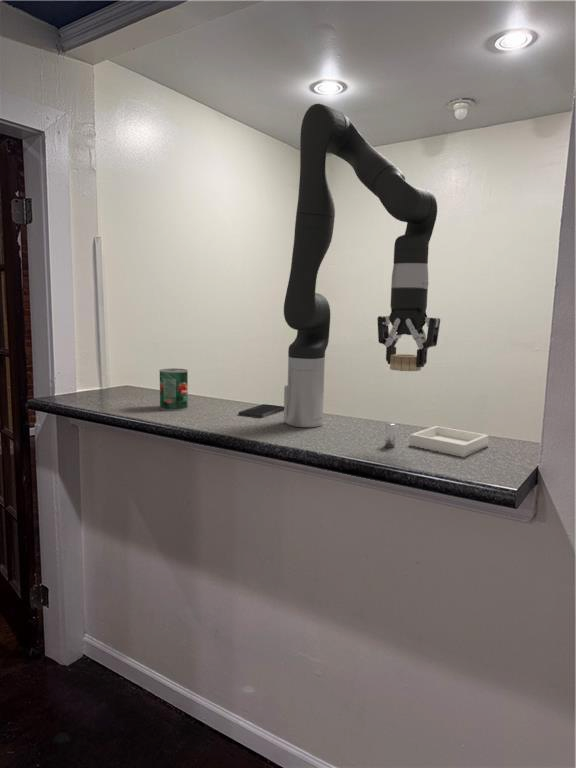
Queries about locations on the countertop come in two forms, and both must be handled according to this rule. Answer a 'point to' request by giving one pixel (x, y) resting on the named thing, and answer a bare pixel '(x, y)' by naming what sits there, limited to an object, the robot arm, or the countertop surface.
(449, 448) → the white tray
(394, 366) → the oak ring
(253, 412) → the phone
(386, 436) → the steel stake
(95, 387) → the countertop surface
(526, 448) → the countertop surface
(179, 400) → the canned tomato
